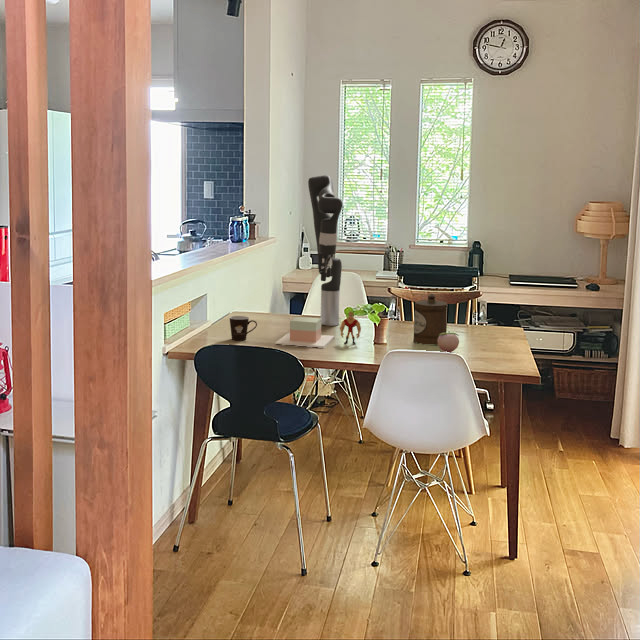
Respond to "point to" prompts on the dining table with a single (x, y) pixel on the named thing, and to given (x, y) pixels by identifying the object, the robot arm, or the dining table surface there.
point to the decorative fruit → (448, 341)
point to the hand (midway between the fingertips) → (325, 279)
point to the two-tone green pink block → (305, 333)
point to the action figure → (350, 327)
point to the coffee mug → (240, 327)
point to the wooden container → (429, 320)
